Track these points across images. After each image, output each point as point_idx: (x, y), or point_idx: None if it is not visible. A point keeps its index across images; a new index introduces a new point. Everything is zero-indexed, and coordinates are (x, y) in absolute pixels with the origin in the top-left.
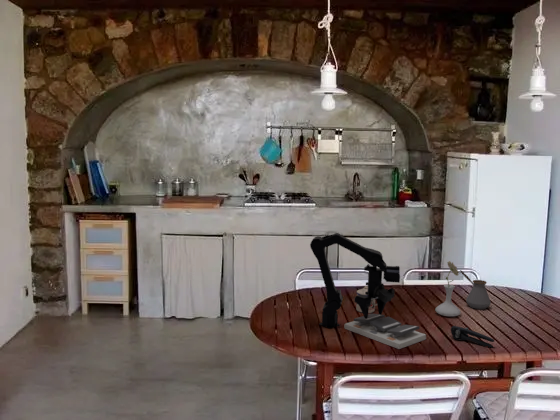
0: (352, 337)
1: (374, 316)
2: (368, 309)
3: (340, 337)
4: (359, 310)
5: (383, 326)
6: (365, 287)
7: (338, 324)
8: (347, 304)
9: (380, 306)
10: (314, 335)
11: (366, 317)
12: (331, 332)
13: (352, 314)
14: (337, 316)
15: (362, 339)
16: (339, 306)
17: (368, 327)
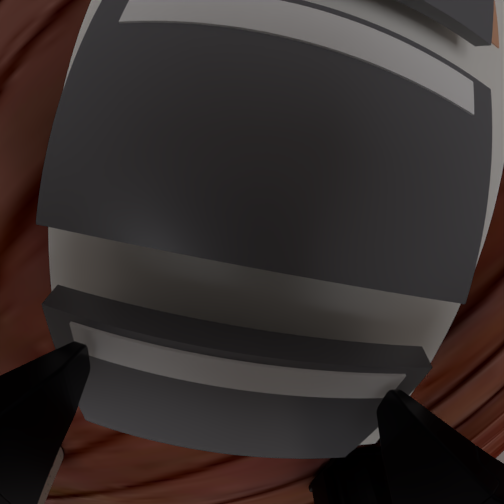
0: (490, 302)
1: (199, 382)
2: (478, 477)
3: (500, 343)
4: (60, 453)
5: (452, 100)
6: None
7: (338, 458)
8: (57, 480)
9: (27, 445)
10: (492, 412)
11: (412, 400)
12: (450, 410)
13: (115, 465)
14: (335, 501)
15: (500, 233)
16: None
17: (370, 305)
